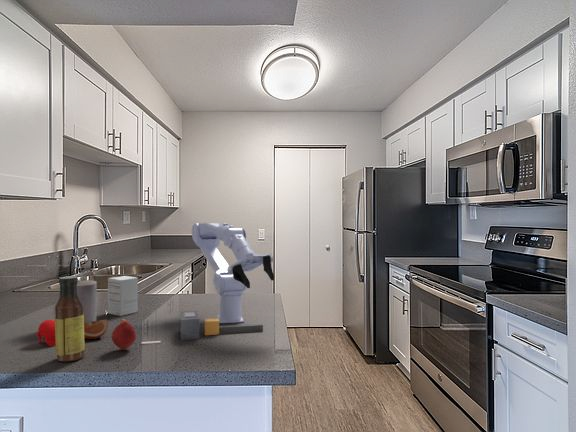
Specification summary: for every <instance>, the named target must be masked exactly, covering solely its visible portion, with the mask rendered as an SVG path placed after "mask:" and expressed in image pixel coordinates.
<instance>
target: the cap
mask: <svg viewBox="0 0 576 432" xmlns="http://www.w3.org/2000/svg"><path fill="white" fill-rule="evenodd" d="M35 333H36V336H37V337H38V343H39V344H41V343H42V338H44V343H46V345H48V347H56V336H55V319H46V320H44V321H42V322H41V323H40V324H39V326H38V331H36V332H35Z"/></svg>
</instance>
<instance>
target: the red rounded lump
mask: <svg viewBox="0 0 576 432" xmlns="http://www.w3.org/2000/svg"><path fill="white" fill-rule="evenodd" d="M120 322H121V323H119V324H118V325H117V326H116V327H115V328H114V330H113V331H112V334H111V340H112V343H113V345H114V346H116V347H117V348H119V349H120V350H121V351H126V350H127V349H128V348H129V347H131V346H132V345H133V344H134V343H135V340H136V339H137V338H136V337H137V332H136V329H135V327H134V326H133V325H132V324H131V323H130V322H128V321H127V320H126V319H124V318H122V319H121V320H120Z"/></svg>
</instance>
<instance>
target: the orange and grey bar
mask: <svg viewBox="0 0 576 432" xmlns="http://www.w3.org/2000/svg"><path fill="white" fill-rule="evenodd" d="M203 327H204V328H203V329H204V336H212V335H213V336H215V335H216V336H217V335H220V334H233V333H250V332H252V333H253V332H264V324H263V323H250V324H249V323H248V324H234V325H233V324H231V325H230V324H229V325H220V323H219V319H218V318H217V317H215V318H212V317H211V318H204V326H203Z"/></svg>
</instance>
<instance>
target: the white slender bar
mask: <svg viewBox="0 0 576 432" xmlns="http://www.w3.org/2000/svg"><path fill="white" fill-rule="evenodd" d="M161 343H162V342H161V340H155V341H142V342H141V344H140V345H151V344H152V345H154V344H161Z"/></svg>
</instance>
